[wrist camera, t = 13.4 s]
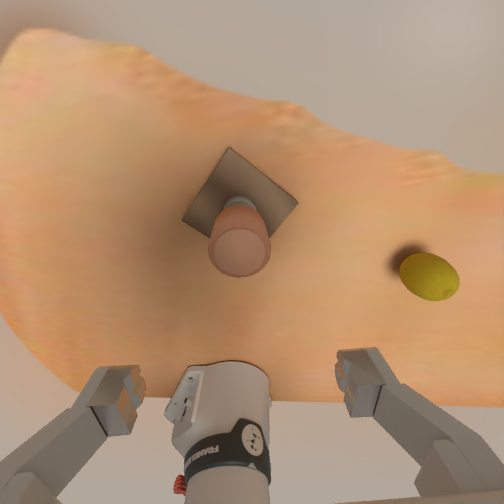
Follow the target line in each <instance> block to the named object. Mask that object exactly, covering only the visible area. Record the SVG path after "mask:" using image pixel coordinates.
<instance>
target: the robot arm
mask: <svg viewBox="0 0 504 504" xmlns="http://www.w3.org/2000/svg"><path fill="white" fill-rule="evenodd" d="M336 357H337V359H338V362H337V363H336V364H335V376H336V380H337V384H338V386H339V389H340V390H341V391H342V392H344V393H345V396H344V402H345V404H346V407H347V409H348V412H349V414H350V417H351V418H353V417H373V418H374V419H375V420H376V421H377V422H378V423H379V424H380V425H381V426H382V427H383V428H384V429H385V430H386V431H387V432H388V433H389V434H390V435H391V436H392V437H393V438H394V439H395V440H396V441H397V442H398V443H399V444H400V445H401V446H402V447H403V448H404V449H405V450H406V451H407V452H408V454H409V455H411V457H412V458H414V459H415V461H416V462H417V463H419V465H420V466H421V469H420V471H419V473H418V475H417V477H416V479H415V482H414V484H415V486H416V488H417V490H418V492H419V494H420V496H421V497H412V498H399V499H386V500H374V501H362V502H350V503H338V504H504V464H503V463H502V462H501V461H500V459H499V458H498V457H497V456H496V454H495V453H494V452H493V451H492V449H491V448H490V447H489V446H488V444H487V443H486V442H485V441H484V439H482V437H481V436H480V435H479V434H477V433H476V432H474V431H473V430H471V429H470V428H468V427H467V426H466V425H464V424H463V423H461V422H460V421H458V420H456V419H455V418H454V417H452V416H451V415H449V414H448V413H447V412H445V411H444V410H442V409H441V408H439V407H438V406H436V405H435V404H434V403H432V402H431V401H429V400H428V399H426V398H425V397H423V396H422V395H420V394H419V393H418V392H416V391H415V390H413V389H412V388H410V387H409V386H407V385H406V384H401V383H400V382H399V380H398V379H397V377H396V376H395V374H394V373H393V371H392V370H391V368H390V367H389V365H388V364H387V362H386V361H385V359H384V358H383V356H382V355H381V353H380V352H379V350H378V349H377V348H376V347H372V348H356V349H344V350H338V352H337V356H336ZM140 372H141V369H140V367H139V365H126V366H107V367H98V368H97V369H96V370H95V371H94V373H93V374H92V376H91V377H90V379H89V381H88V382H87V384H86V385H85V387H84V388H83V390H82V392H81V393H80V395H79V396H78V398H77V400H76V401H75V403H74V404H73V406H72V407H71V408H69V409H66V410H65V411H64V412H62V413H61V414H60V415H58V416H57V417H56V418H55V419H53V420H52V421H51V422H50V423H48V424H47V425H46V426H45V427H43V428H42V429H41V430H39V431H38V432H37V433H36V434H34V435H33V436H32V437H31V438H30V439H28V440H27V441H26V442H24V443H23V444H22V445H21V446H19V447H18V448H17V449H16V450H14V451H13V452H12V453H11V454H9V455H8V456H7V457H5V458H4V459H3V460H2V461H1V462H0V504H61V503H60V502H59V500H57V498H56V497H57V496H58V495H59V494H60V493H61V491H62V490H63V489H64V488H65V487H66V486H67V484H68V483H69V482H70V481H71V480H72V479H73V477H74V476H75V475H76V474H77V473H78V472H79V470H80V469H81V468H82V467H83V466H84V465H85V464H86V463H87V461H88V460H89V459H90V458H91V457H92V456H93V454H94V453H95V452H96V451H97V450H98V449H99V447H100V446H101V445H102V444H103V443H104V442H105V441H106V439H107V437H111V436H120V435H129V434H131V431H132V429H133V426H134V423H135V421H136V418H137V412H136V409H137V408H138V407H139V406H140V405H141V404H142V402H143V399H144V396H145V390H146V385H145V380H144V378H143V377H141V376H140V375H139V374H140ZM271 406H272V400H271V397H270V395H269V380H268V378H267V376H266V375H265V373H264V372H263V371H261V370H260V369H259V368H257V367H255V366H253V365H250V364H247V363H243V362H233V361H229V362H220V363H216V364H212V365H208V366H191V367H188V368H187V370H186V372H185V374H184V375H183V377H182V379H181V381H180V383H179V385H178V387H177V388H176V390H175V392H174V394H173V396H172V398H171V400H170V402H169V403H168V405H167V407H166V409H165V414H164V416H165V417H166V418H167V419H168V420H169V421H171V422H172V423H174V428H173V433H172V444H173V446H174V447H175V448H176V449H177V450H178V451H179V452H180V453H181V455H182V456H183V457H184V458H185V459H184V473H185V477H184V476H183V475H178V477H177V478H176V479H177V480H176V481H175V484H174V489H173V490H174V493H175V494H183V495H184V496H185V495H186V497H185V503H184V504H270V497H269V485H270V483H271V463H270V458H269V449H268V447H269V408H270V407H271Z"/></svg>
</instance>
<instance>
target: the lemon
mask: <svg viewBox="0 0 504 504" xmlns="http://www.w3.org/2000/svg"><path fill="white" fill-rule="evenodd" d="M399 275H400V278H401V281H402V283H403V284H404V285H405V286H406V288H407V289H408V290H409V291H411V292H412V293H414V294H415V295H417V296H419V297H421V298H423V299H426V300H430V301H441V300H445V299H448V298H450V297H451V296H453V295H454V294H455V293H456V291H457V290H458V287H459V276H458V274H457V272H456V270H455V269H454V268H453V267H452V266H451V265H450V264H449V263H448V262H447V261H446V260H444V259H443V258H441V257H438V256H436V255H434V254H430V253H416V254H413V255H410V256H408V257H407V258H406V259H405V260H404V261H403V262H402V264H401V265H400V269H399Z"/></svg>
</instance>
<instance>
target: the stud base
mask: <svg viewBox="0 0 504 504" xmlns="http://www.w3.org/2000/svg"><path fill="white" fill-rule="evenodd" d="M297 204H298V201H297V200H296V199H295V198H293V197H292V196H291V195H289V194H288V193H287V192H286V191H284V190H283V189H282V188H281V187H279V186H278V185H277V184H276V183H274V182H273V181H272V180H271V179H269V178H268V177H267V176H266V175H264V174H263V173H262V172H261V171H259V170H258V169H257V168H256V167H254V166H253V165H252V164H251V163H249V162H248V161H247V160H246V159H244V158H243V157H242V156H241V155H239V154H238V153H237V152H235V151H234V150H233V149H232V148H230V147H229V149H228V150H227V152H226V153H225V155H224V156H223V158H222V159H221V161H220V162H219V164H218V165H217V167H216V168H215V170H214V171H213V173H212V175H211V176H210V178H209V179H208V181H207V182H206V184H205V185H204V187H203V188H202V190H201V191H200V193H199V194H198V196H197V197H196V199H195V200H194V202H193V203H192V205H191V207H190V208H189V210H188V211H187V213H186V214H185V216H184V217H183V219H182V221H183V222H185V223H187V224H188V225H190V226H191V227H193V228H194V229H196V230H198V231H199V232H201V233H202V234H204V235H205V236H207V237H209V238H211V234H212V230H213V227H214V223H215V220H216V218H217V217H218V215H219V214H220V213H221V212H222V211H223V210H224V209H226V208H228V207H230V206H234V205H245V206H249V207H251V208H253V209H255V210H256V211H257V212H258V213H259V214H260V215H261V216H262V218H263V220H264V222H265V226H266V230H267V234H268V237H269V238H270V236H271V235H272V234H273V233H274V232H275V231H276V229H277V228H278V227H279V226H280V225H281V223H282V222H283V221H284V220H285V219H286V217H287V216H288V215H289V214H290V213H291V212H292V210H293V209H294V208H295V207H296V206H297Z"/></svg>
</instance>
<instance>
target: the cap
mask: <svg viewBox="0 0 504 504" xmlns="http://www.w3.org/2000/svg"><path fill="white" fill-rule="evenodd" d="M208 253H209V257H210V260H211V262H212V264H213V265H214V266H215V267H216V268H217V269H218V270H219V271H220V272H222V273H224V274H226V275H228V276H232V277H247V276H251V275H253V274H255V273H257V272H259V271H260V270H261V269H262V268H263V267H264V266H265V265H266V264H267V262H268V260H269V257H270V253H271V245H270V241H269V237H268V234H267V230H266V226H265V222H264V220H263V218H262V216H261V215H260V214H259V213H258V212H257V211H256V210H255V209H253V208H251V207H249V206H245V205H234V206H230V207H228V208H226V209H224V210H223V211H222V212H221V213H220V214H219V215H218V217H217V218H216V220H215V223H214V227H213V230H212V234H211V238H210V241H209V245H208Z"/></svg>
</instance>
